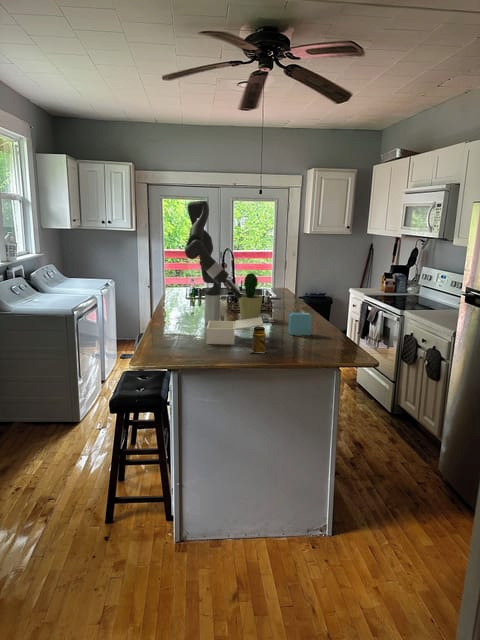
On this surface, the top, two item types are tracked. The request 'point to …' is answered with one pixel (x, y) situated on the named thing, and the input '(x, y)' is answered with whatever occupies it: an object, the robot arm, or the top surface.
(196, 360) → the top surface
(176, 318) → the top surface
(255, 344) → the condiment
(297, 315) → the data package
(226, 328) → the box
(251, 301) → the potted cactus
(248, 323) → the lid
